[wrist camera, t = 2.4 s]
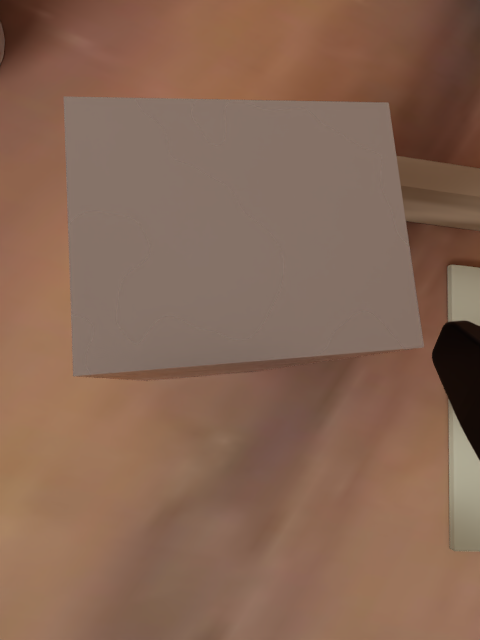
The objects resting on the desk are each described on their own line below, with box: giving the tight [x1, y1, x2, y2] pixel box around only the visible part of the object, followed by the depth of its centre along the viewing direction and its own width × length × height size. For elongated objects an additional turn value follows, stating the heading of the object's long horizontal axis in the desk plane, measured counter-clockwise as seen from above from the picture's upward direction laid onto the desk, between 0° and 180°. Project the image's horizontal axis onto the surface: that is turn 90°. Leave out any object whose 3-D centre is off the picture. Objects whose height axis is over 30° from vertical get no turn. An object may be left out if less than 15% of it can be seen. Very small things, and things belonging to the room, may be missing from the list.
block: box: [64, 97, 424, 381], centre depth 12 cm, size 8×4×12 cm, turn 5°
